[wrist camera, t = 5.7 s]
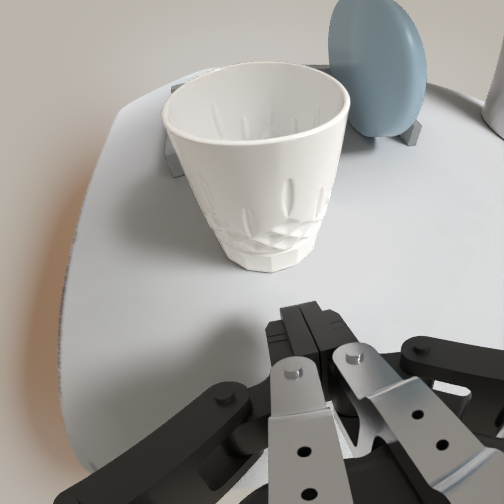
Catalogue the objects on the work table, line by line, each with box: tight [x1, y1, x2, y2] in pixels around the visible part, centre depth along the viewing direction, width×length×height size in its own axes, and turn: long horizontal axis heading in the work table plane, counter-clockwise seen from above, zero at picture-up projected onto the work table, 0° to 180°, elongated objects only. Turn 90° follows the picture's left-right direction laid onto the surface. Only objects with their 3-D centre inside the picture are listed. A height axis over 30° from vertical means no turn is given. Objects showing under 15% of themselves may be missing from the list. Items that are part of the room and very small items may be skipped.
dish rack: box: [164, 0, 427, 178], centre depth 18 cm, size 15×23×14 cm, turn 99°
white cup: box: [161, 61, 350, 273], centre depth 14 cm, size 8×8×10 cm
